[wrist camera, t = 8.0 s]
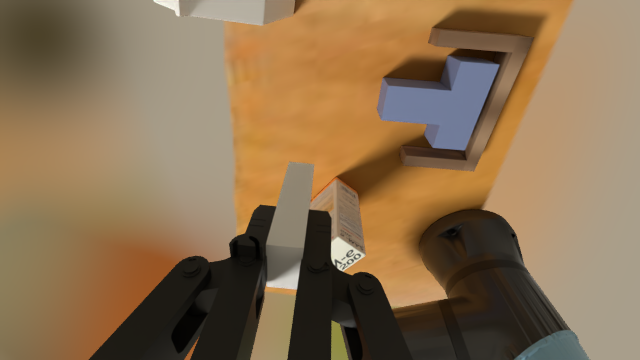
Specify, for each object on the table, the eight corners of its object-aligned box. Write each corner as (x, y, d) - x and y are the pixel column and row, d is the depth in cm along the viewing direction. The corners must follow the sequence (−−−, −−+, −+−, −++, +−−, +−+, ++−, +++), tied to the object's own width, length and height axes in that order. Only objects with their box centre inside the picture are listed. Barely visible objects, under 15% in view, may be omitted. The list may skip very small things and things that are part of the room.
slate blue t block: (372, 130, 37) (376, 143, 34) (388, 50, 32) (394, 56, 28) (453, 137, 37) (464, 150, 34) (482, 57, 31) (499, 64, 28)
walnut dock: (465, 160, 39) (474, 171, 36) (399, 155, 39) (403, 165, 36) (517, 34, 30) (534, 37, 27) (432, 27, 30) (440, 30, 27)
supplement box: (325, 220, 46) (322, 288, 36) (303, 206, 45) (293, 271, 34) (359, 191, 43) (367, 257, 32) (336, 174, 41) (337, 237, 30)
